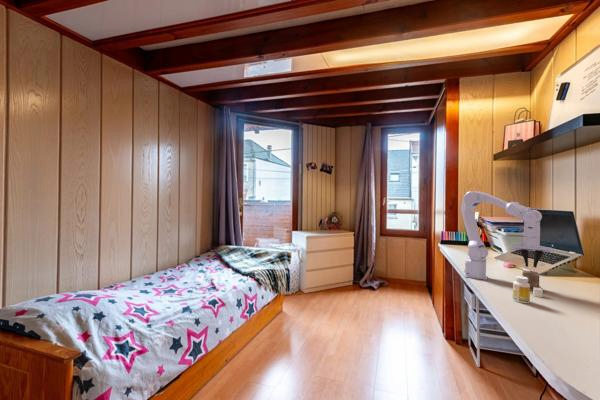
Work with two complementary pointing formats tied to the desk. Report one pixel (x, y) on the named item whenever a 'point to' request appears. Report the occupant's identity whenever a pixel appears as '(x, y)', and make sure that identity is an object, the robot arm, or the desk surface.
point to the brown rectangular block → (532, 278)
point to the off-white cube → (537, 292)
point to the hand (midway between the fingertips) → (530, 266)
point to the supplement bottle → (521, 290)
